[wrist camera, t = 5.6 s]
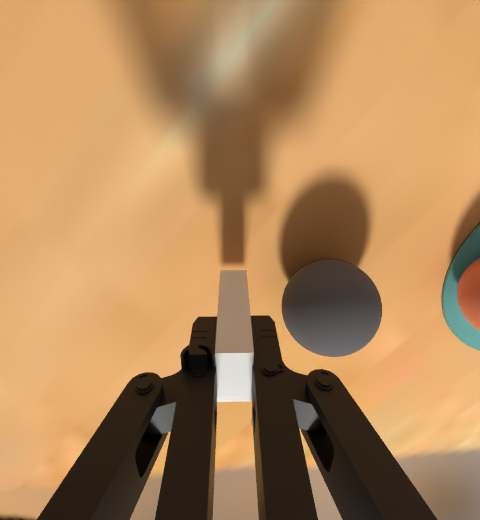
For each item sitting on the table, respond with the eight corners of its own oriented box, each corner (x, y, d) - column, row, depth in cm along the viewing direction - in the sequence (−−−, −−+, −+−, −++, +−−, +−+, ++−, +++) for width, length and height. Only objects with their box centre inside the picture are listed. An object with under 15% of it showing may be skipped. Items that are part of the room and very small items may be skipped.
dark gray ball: (410, 309, 14) (385, 252, 18) (287, 285, 14) (293, 236, 19) (371, 388, 16) (358, 321, 21) (270, 365, 17) (279, 305, 22)
